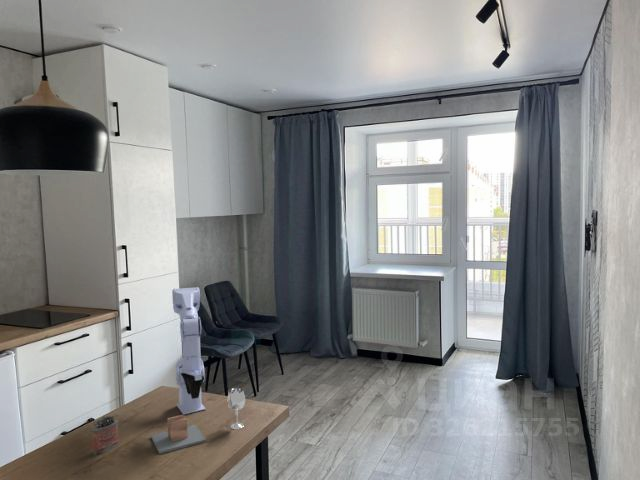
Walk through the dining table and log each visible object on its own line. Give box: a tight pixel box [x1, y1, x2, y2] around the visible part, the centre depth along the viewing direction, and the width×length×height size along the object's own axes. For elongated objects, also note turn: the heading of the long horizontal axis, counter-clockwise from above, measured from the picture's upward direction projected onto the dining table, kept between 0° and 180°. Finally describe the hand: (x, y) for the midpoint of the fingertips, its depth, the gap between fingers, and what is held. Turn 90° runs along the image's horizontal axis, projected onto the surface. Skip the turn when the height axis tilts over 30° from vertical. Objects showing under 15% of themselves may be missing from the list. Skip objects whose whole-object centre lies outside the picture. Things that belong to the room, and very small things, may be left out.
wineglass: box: [226, 387, 246, 430], centre depth 159 cm, size 6×6×12 cm
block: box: [167, 414, 188, 442], centre depth 151 cm, size 4×5×6 cm
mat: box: [150, 424, 207, 455], centre depth 151 cm, size 12×14×1 cm
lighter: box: [91, 414, 120, 456], centre depth 146 cm, size 8×3×10 cm, turn 145°
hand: (193, 395), depth 159 cm, fingers open, 4 cm apart
